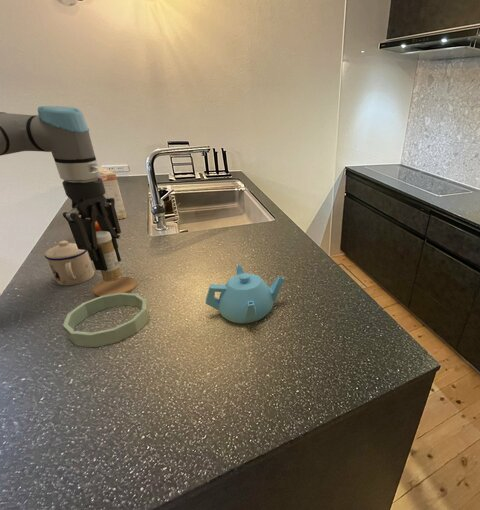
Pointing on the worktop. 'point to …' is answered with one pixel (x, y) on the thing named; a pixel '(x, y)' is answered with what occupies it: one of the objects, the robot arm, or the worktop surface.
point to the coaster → (114, 286)
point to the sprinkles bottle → (108, 256)
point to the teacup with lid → (69, 264)
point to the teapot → (244, 297)
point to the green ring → (109, 334)
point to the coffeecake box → (112, 191)
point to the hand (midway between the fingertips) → (108, 265)
